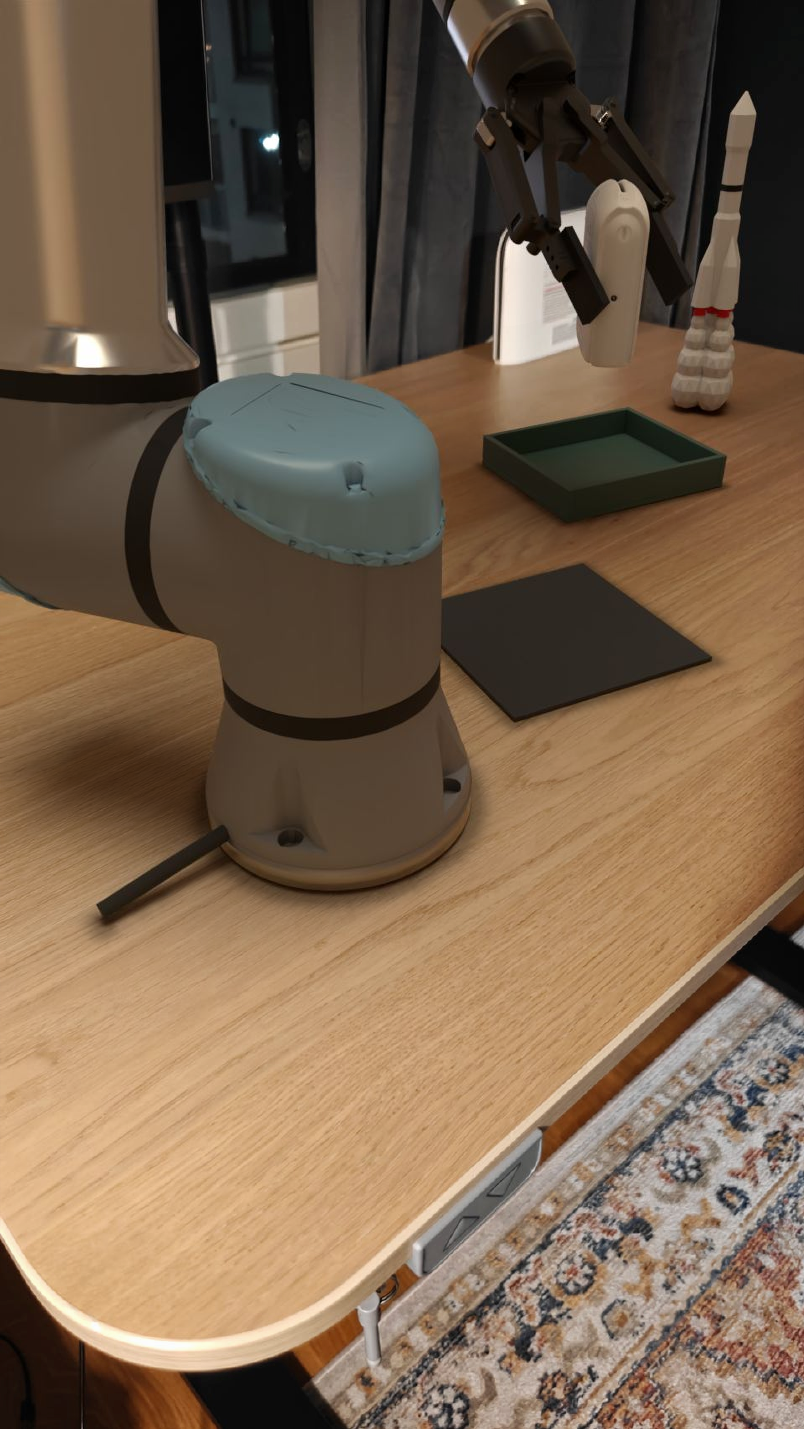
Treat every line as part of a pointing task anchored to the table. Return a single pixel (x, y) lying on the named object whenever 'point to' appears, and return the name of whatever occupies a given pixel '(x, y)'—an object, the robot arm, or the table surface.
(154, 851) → the table surface
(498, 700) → the mat
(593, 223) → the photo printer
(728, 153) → the rocket model
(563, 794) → the table surface
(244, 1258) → the table surface
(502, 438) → the tray
